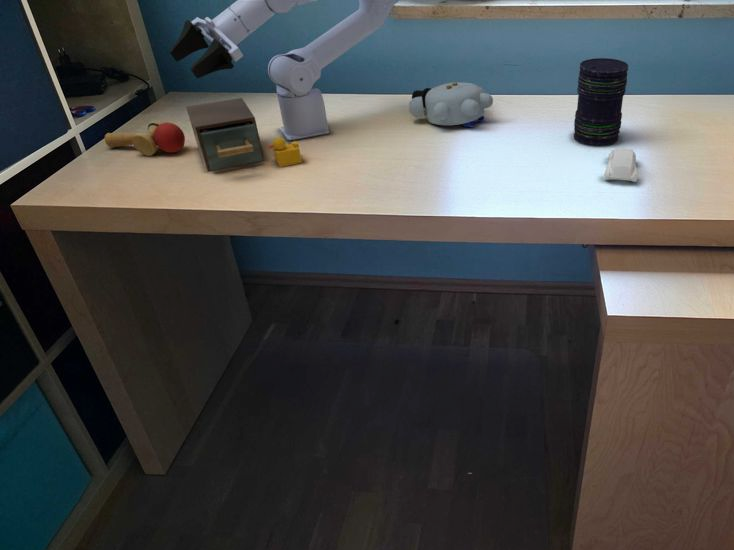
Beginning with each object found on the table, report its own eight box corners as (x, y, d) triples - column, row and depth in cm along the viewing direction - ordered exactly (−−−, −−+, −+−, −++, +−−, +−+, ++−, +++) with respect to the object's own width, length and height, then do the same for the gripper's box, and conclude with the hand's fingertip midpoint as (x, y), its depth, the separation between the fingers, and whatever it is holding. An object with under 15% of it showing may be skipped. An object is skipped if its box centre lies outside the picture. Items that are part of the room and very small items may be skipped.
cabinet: (264, 160, 131) (254, 117, 126) (207, 171, 128) (194, 127, 122) (251, 138, 141) (241, 97, 135) (198, 148, 137) (185, 106, 131)
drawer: (268, 169, 126) (259, 133, 121) (215, 179, 123) (204, 142, 118) (250, 140, 138) (242, 106, 133) (202, 149, 134) (192, 114, 130)
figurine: (507, 113, 149) (440, 107, 159) (504, 75, 144) (436, 71, 154) (463, 137, 138) (395, 128, 149) (459, 96, 133) (388, 90, 144)
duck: (298, 156, 133) (293, 131, 129) (302, 162, 130) (298, 137, 127) (271, 162, 131) (265, 137, 127) (274, 168, 128) (269, 142, 125)
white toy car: (637, 186, 119) (641, 162, 116) (603, 184, 120) (606, 160, 117) (637, 160, 128) (640, 138, 125) (605, 158, 129) (608, 136, 126)
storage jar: (597, 126, 143) (605, 55, 134) (628, 139, 137) (639, 66, 127) (563, 136, 139) (569, 63, 129) (594, 150, 132) (602, 75, 123)
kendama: (102, 161, 136) (174, 155, 131) (91, 130, 133) (164, 123, 128) (127, 153, 142) (196, 147, 138) (116, 124, 139) (187, 116, 135)
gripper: (206, -11, 123) (151, 31, 120) (248, 19, 117) (191, 64, 115) (225, 21, 129) (172, 61, 127) (265, 50, 124) (212, 94, 121)
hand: (183, 65), depth 121 cm, fingers open, 7 cm apart
